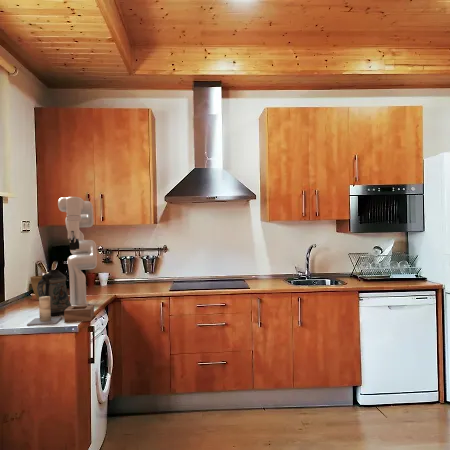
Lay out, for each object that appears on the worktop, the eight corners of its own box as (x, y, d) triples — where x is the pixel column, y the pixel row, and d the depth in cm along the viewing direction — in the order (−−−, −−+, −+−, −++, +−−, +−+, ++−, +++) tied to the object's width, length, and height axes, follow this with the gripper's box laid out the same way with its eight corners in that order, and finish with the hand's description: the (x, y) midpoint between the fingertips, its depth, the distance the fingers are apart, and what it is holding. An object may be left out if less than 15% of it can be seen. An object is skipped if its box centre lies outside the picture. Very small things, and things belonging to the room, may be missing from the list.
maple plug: (41, 319, 233) (40, 296, 233) (51, 318, 234) (51, 296, 234) (38, 321, 228) (37, 298, 228) (49, 320, 229) (49, 297, 229)
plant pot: (59, 297, 308) (58, 274, 308) (45, 301, 294) (44, 277, 294) (40, 297, 312) (40, 274, 312) (26, 301, 298) (25, 277, 298)
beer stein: (75, 310, 260) (74, 267, 259) (64, 317, 240) (63, 271, 240) (47, 311, 259) (45, 268, 259) (34, 318, 240) (32, 272, 240)
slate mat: (34, 319, 237) (34, 318, 237) (62, 318, 239) (62, 316, 239) (27, 325, 223) (27, 324, 223) (56, 324, 225) (56, 322, 225)
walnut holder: (69, 317, 241) (69, 306, 241) (94, 315, 243) (93, 304, 243) (64, 322, 228) (64, 310, 228) (90, 320, 230) (90, 309, 230)
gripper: (69, 219, 256) (70, 248, 256) (63, 218, 239) (64, 250, 239) (83, 218, 257) (84, 248, 257) (77, 218, 240) (78, 250, 240)
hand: (74, 249), depth 248 cm, fingers open, 9 cm apart
